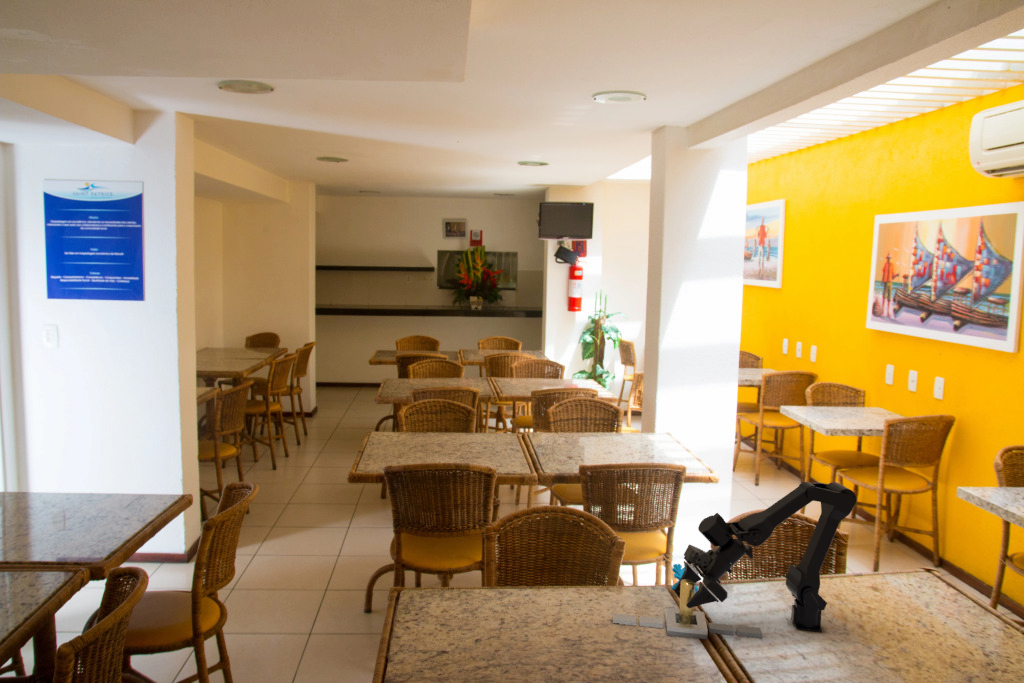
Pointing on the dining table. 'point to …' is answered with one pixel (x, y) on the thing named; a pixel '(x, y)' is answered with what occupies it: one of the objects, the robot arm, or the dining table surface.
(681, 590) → the pin
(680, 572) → the gear
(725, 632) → the square frame with tiles
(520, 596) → the dining table surface
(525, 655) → the dining table surface
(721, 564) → the robot arm
